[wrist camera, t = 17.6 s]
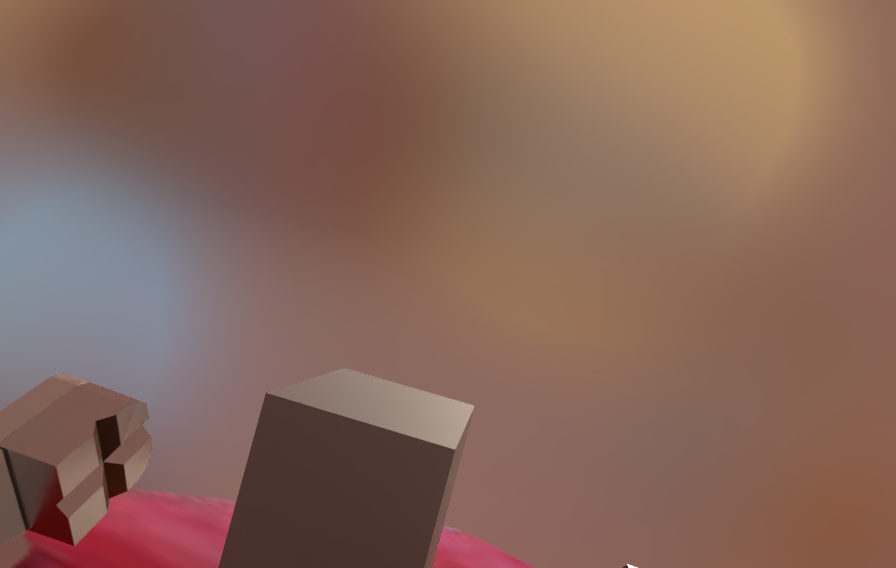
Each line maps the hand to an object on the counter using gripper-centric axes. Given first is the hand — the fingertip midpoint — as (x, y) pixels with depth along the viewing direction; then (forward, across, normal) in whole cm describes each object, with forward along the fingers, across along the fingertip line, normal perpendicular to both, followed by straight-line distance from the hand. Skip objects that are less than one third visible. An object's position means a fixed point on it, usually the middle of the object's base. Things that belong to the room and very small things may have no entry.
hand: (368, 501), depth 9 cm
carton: (+12, +5, +43) cm, 45 cm away
